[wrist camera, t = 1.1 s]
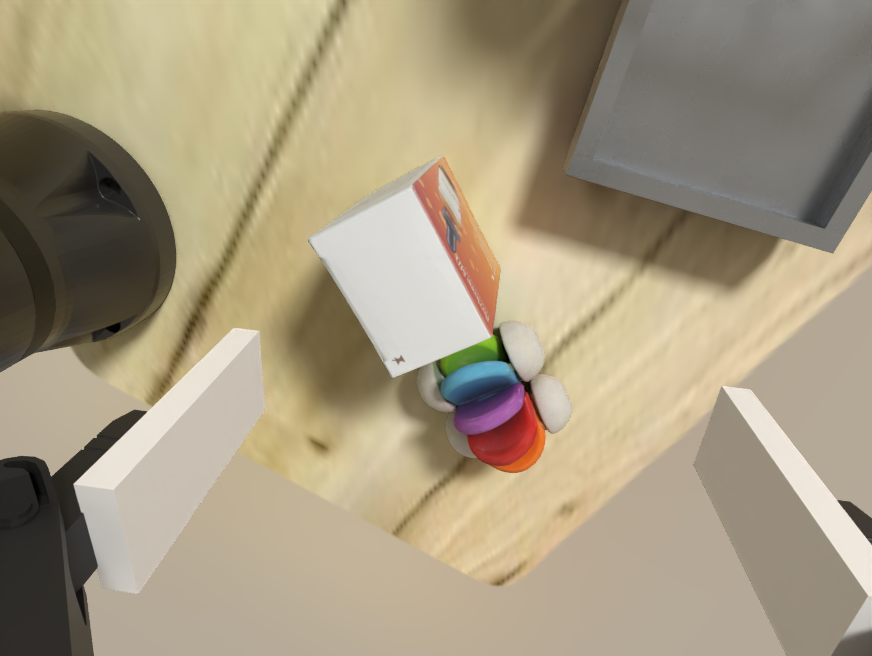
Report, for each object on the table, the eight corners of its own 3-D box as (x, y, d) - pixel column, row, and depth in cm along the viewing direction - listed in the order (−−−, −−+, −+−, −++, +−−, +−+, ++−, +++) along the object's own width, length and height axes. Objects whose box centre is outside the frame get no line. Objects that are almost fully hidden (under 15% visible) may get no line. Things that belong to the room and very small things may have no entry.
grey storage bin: (560, 163, 31) (579, 200, 22) (667, -139, 25) (758, -270, 16) (796, 233, 31) (918, 301, 22) (961, -55, 25) (1234, -136, 15)
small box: (502, 269, 34) (496, 342, 25) (425, 303, 36) (392, 384, 27) (444, 151, 32) (413, 181, 22) (364, 193, 33) (304, 239, 24)
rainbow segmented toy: (471, 448, 41) (463, 520, 34) (408, 343, 38) (385, 399, 31) (579, 410, 38) (593, 480, 31) (521, 293, 35) (522, 343, 28)
